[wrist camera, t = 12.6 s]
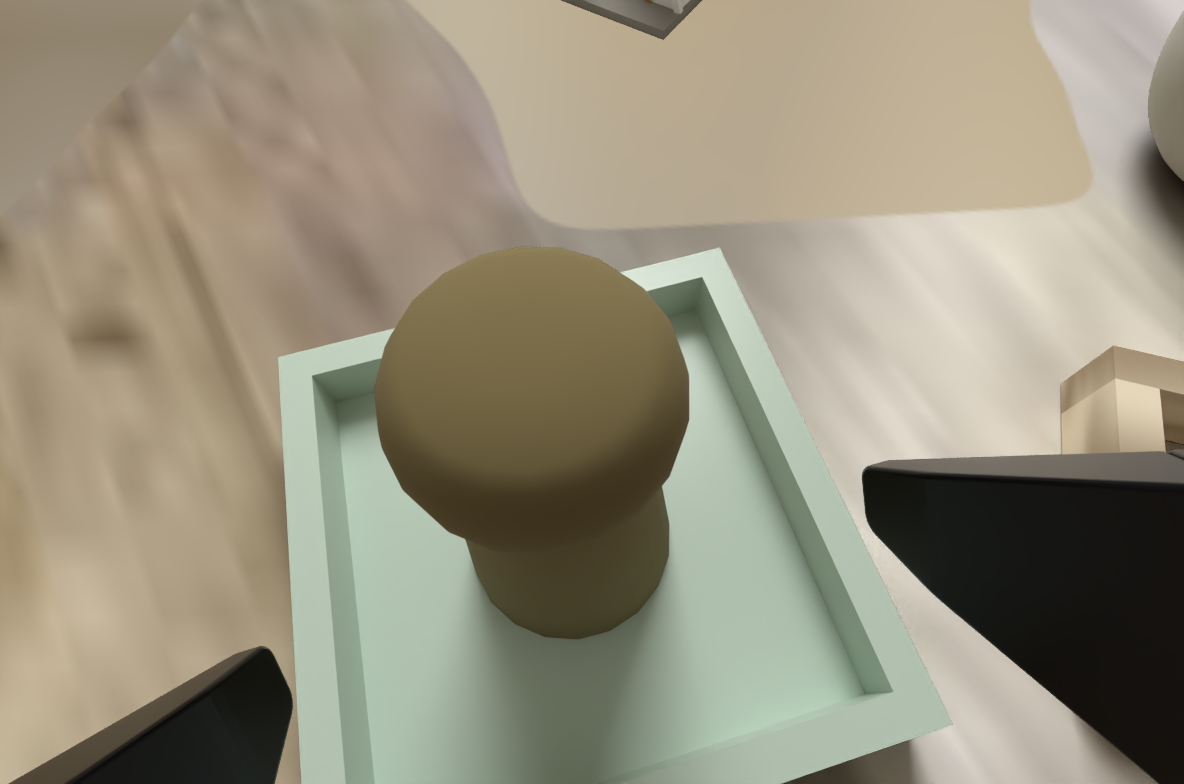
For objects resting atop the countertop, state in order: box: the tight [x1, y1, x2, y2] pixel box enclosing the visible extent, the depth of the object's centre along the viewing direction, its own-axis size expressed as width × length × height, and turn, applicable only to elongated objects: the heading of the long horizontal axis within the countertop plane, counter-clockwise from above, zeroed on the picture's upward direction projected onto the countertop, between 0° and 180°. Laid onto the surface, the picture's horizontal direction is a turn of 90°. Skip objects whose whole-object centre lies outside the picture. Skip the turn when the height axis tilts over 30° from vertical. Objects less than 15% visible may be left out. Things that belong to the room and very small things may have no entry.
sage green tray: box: [278, 248, 953, 784], centre depth 18 cm, size 15×15×2 cm
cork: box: [374, 247, 689, 640], centre depth 14 cm, size 6×6×11 cm
